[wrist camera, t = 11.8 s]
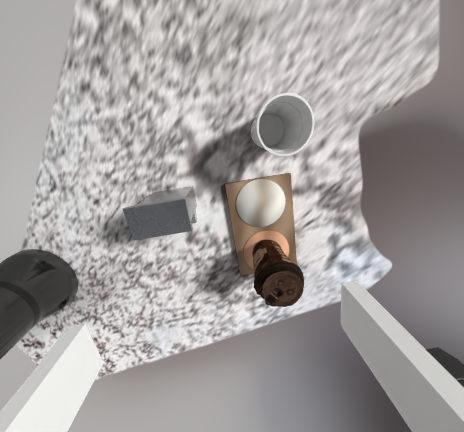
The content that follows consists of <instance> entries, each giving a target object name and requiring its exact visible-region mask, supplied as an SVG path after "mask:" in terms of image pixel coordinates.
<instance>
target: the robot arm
mask: <svg viewBox="0 0 464 432" xmlns="http://www.w3.org/2000/svg"><path fill="white" fill-rule="evenodd" d="M77 289H78V281H77V277H76V275H75V273H74V271H73V269H72V268H71V267H70V266H69V265H68V264H67V263H66V262H65V261H64V260H63V259H61V258H60V257H58V256H56V255H54V254H52V253H50V252H47V251H42V250H33V249H32V250H24V251H20V252H18V253H16V254H14V255H12V256H10V257H8V258H7V259H5V260H4V261H3V262H1V263H0V359H1V358H2V357H3V356H4V355H5V354H6V353H7V352H8V351H9V350H10V349H11V348H12V347H13V346H14V345H15V344H16V343H17V342H18V341H19V340H20V339H21V338H22V337H23V336H24V335H25V334H26V333H27V332H28V331H29V330H30V329H31V328H32V327H33V326H34V325H35V324H37V323H38V322H40V321H42V320H44V319H45V318H47V317H49V316H51V315H53V314H54V313H56V312H58V311H60V310H61V309H63V308H64V307H65V306H66V305H67V304H68V303H69V302H70V301H71V300H72V299H73V298H74V297H75V295H76V293H77ZM341 326H342V328H343V329H344V331H345V332H346V334H347V335H348V337H349V338H350V340H351V341H352V343H353V344H354V346H355V347H356V349H357V350H358V352H359V353H360V355H361V356H362V358H363V359H364V361H365V362H366V364H367V365H368V367H369V368H370V370H371V371H372V372H373V374H374V375H375V377H376V378H377V380H378V381H379V383H380V384H381V386H382V387H383V389H384V390H385V392H386V393H387V395H388V396H389V398H390V399H391V401H392V402H393V404H394V405H395V407H396V408H397V410H398V411H399V413H400V414H401V416H402V417H403V419H404V420H405V422H406V423H407V425H408V426H409V428H410V429H411V430H412V432H464V365H463V364H462V363H461V362H460V361H459V360H458V359H456V358H454V357H453V356H451V355H450V354H448V353H446V352H445V351H443V350H441V349H440V348H432V349H424V348H423V347H422V346H421V345H420V344H419V343H418V342H417V341H416V340H415V339H414V338H413V337H412V336H411V335H410V334H409V333H408V332H407V331H406V330H405V329H404V328H403V327H402V326H401V325H400V324H399V323H398V322H397V321H396V320H395V319H394V318H393V317H392V316H391V315H390V314H389V313H388V312H387V311H386V310H385V309H384V308H383V307H382V306H381V305H380V304H379V303H378V302H377V301H376V300H375V299H374V298H373V297H372V296H371V295H370V294H369V293H368V292H367V291H366V290H365V289H364V288H363V287H362V286H361V285H360V284H359V283H358V282H357V281H352V282H346V283H342V294H341ZM102 365H103V361H102V359H101V357H100V355H99V352H98V350H97V348H96V346H95V344H94V342H93V339H92V337H91V335H90V333H89V331H88V329H87V326H86V324H80V325H74V326H70V327H69V328H68V329H67V331H66V332H65V333H64V334H63V335H62V337H61V338H60V339H59V340H58V342H57V343H56V344H55V345H54V346H53V348H52V349H51V350H50V351H49V353H48V354H47V355H46V356H45V357H44V359H43V360H42V361H41V362H40V364H39V365H38V366H37V367H36V369H35V370H34V371H33V372H32V374H31V375H30V376H29V377H28V378H27V380H26V381H25V382H24V383H23V384H22V386H21V387H20V388H19V389H18V391H17V392H16V393H15V394H14V395H13V397H12V398H11V399H10V400H9V402H8V403H7V404H6V405H5V406H4V408H3V409H2V410H1V411H0V432H67V431H68V429H69V427H70V426H71V424H72V422H73V420H74V418H75V416H76V414H77V412H78V410H79V408H80V407H81V405H82V403H83V401H84V399H85V397H86V395H87V393H88V391H89V390H90V387H91V386H92V384H93V382H94V380H95V378H96V376H97V374H98V372H99V371H100V369H101V367H102Z"/></svg>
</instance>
